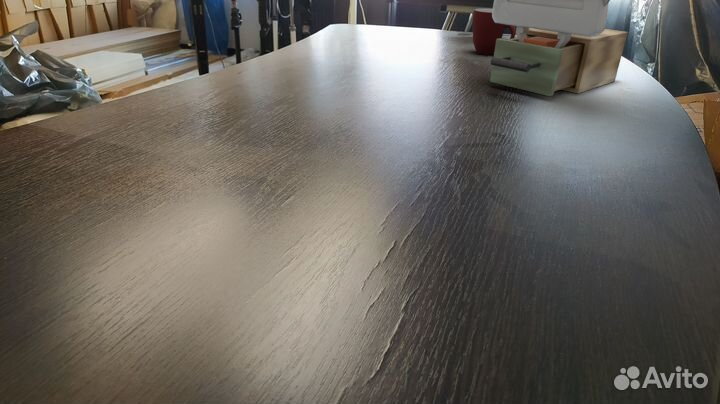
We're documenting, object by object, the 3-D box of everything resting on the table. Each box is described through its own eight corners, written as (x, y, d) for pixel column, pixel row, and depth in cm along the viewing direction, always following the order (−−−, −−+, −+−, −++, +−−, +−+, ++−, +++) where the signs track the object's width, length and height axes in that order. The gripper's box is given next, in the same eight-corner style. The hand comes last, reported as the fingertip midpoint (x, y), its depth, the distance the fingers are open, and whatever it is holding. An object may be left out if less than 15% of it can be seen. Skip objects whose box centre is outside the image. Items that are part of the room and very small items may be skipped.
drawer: (535, 101, 83) (544, 53, 79) (474, 85, 91) (480, 41, 88) (589, 83, 95) (599, 41, 91) (531, 71, 103) (538, 32, 99)
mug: (513, 53, 125) (520, 10, 120) (510, 59, 118) (517, 14, 114) (471, 49, 128) (476, 7, 123) (465, 54, 121) (471, 11, 117)
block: (554, 65, 91) (559, 39, 89) (541, 68, 88) (546, 42, 86) (532, 61, 94) (536, 36, 92) (519, 63, 91) (523, 38, 89)
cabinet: (578, 93, 92) (590, 39, 87) (513, 78, 101) (522, 29, 96) (614, 81, 101) (627, 31, 97) (553, 68, 110) (562, 23, 105)
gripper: (624, -25, 79) (602, 63, 86) (513, -32, 93) (501, 45, 99) (607, -24, 75) (585, 68, 82) (493, -32, 89) (482, 48, 95)
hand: (538, 55), depth 91 cm, fingers closed on block, 4 cm apart
